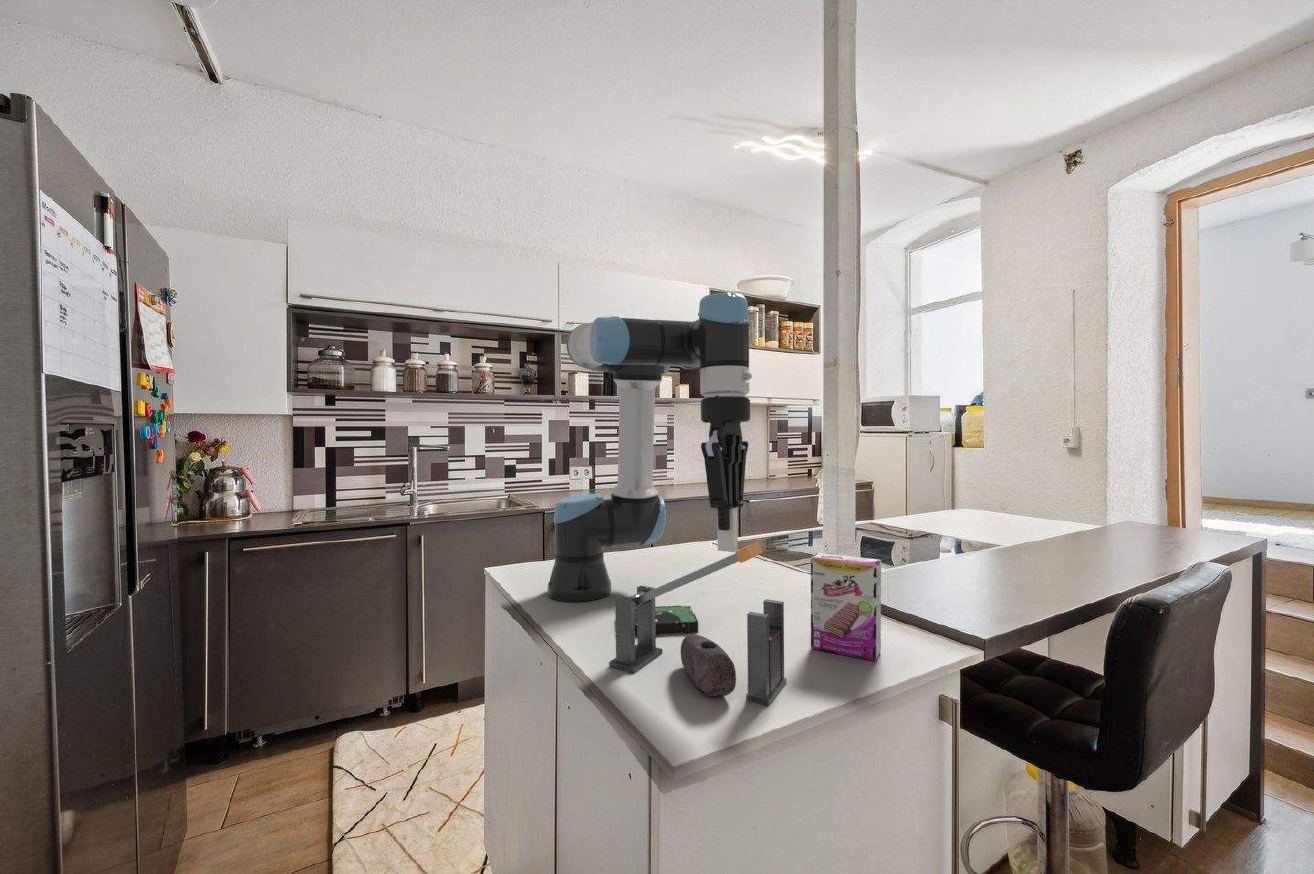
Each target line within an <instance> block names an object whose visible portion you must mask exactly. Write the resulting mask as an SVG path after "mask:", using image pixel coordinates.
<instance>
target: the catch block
mask: <svg viewBox="0 0 1314 874" xmlns="http://www.w3.org/2000/svg"><path fill="white" fill-rule="evenodd" d="M762 603H763V613H760V612H755V611H749V612H748V613H747V614H746V618H747V620H746V621H747V623H746V624H747V625H746V626H747V627H746V629H747V630H746V631H747V634H746V635H747V637H746V638H747V639H746V641H747V642H746V643H747V647H746V648H747V693H746V694H745V700H746V701H747V700H748V701H747V702H752V703H755V704H759V705H763V706H768V707H769V706H770V705H771V704H772V702H773V701H774V700H775V699H776V698H777V696H778V695H779V694H780V692H781V691H782V690H783V688H784V686H786V684H787V677H785V627H784V626H785V619H784V618H785V616H784V615H785V614H784V613H785V611H784V610H785V608H784V606H785V605H784V603H785V602H784V601H782V600H775V599H769V598H765V599H764V600H763V601H762ZM773 699H774V700H773Z"/></svg>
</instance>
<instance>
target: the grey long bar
mask: <svg viewBox="0 0 1314 874" xmlns="http://www.w3.org/2000/svg"><path fill="white" fill-rule="evenodd" d="M763 552H764V550H763V549H762V546H761V544H760V543H759V541H754V542H752V543H750V544H748V545H746V546H744V547H742V548H740V549H738V550H737V551H735V552H734V553H733V554H730V555H728V556H726V557H723V558H722V559H719V560H717V561H714V562H712V563H711V564H707V565H706V566H704V567H701V568H699V569H697V570H694V571H692V572H689V573H687V574H686V575H683V576H680V577H679V578H676V579H674V580H671V581H669V582H667V583H665V584H662V585H660V586H657V587H654V588H655V589H653V590H651V591H648V592H646V593H645V592H639V593H637V592H636V593H635V594H633V595H631V596H630V597H631V598H635V609H637V608H638V607H640V606H642V605H644V604H646V603H647V602H648V600H651V599H653V598H655V599H656V598H658V597H660V596H662V595H664V594H667V593H669V592H671V591H673V590H675V589H678V588H681V587H683V586H685V585H688V584H690V583H692V582H694V581H696V580H699V579H702V578H704V577H706V576H708V575H711V574H713V573H715V572H718V571H719V570H722V569H725V568H727V567H729V566H731V565H734V564H736V563H738V562H739V563H740V564H742V563H744V562H747V561H749V560H751V559H753V558H755V557H757V556H759V555H760V554H762V553H763Z"/></svg>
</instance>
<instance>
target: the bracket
mask: <svg viewBox="0 0 1314 874" xmlns="http://www.w3.org/2000/svg"><path fill="white" fill-rule="evenodd" d="M655 588H656V587H652V586H651V587H650V586H645V585H638V586H637V587H636V594H637V593H639V592H645V593H646V592H648V591H651V590H653V589H655ZM614 601H615V603H614V604H615V606H614V608H615V611H614V612H615V613H614V614H615V657H614V658H613V659H611V660H610V661H609V662H608V667H609V668H612V669H617V670H619V671H623V672H628V673H631V674H636V673H637V672H638V671H640V670H641V669H643V668H644V667H646V666H647V665H648V664H650V663H651V662H653V661H654V660H655V659H657V658H658V657H660V656H661V655H663V652H664V651H663V648H660V647H657V644H656V643H657V642H656V641H657V640H656V639H657V638H656V637H657V636H656V622H655V607H656V597H655V598H653V599H651V600H648V602H647V603H646V604H644V605H642V606H640V607H638V608H637V644H636V636H635V598H631V596H626V595H625V596H624V595H620V594H619V595H617V596H616V597H615V599H614Z"/></svg>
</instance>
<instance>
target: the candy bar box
mask: <svg viewBox="0 0 1314 874" xmlns="http://www.w3.org/2000/svg"><path fill="white" fill-rule="evenodd" d="M881 598H882V560H881V559H877V558H876V559H875V558H869V557H861V556H860V557H859V556H853V555H852V556H851V555H842V554H833V553H824V552H817V553H815V554H814V555H812V556H811V558H810V648H811V649H813V650H816V651H817V650H818V651H823V652H828V653H832V654H838V655H843V656H848V657H852V658H858V659H862V660H863V659H864V660H868V661H873V662H876V661H877V659H878V657H879V655H880V653H881V651H882V650H881V649H882V641H881V640H882V638H881V636H882V634H881V632H882V631H881V630H882V627H881V626H882V619H881V618H882V617H881V616H882V615H881V613H882V609H881V608H882V606H881V605H882V601H881V600H882V599H881Z"/></svg>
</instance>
